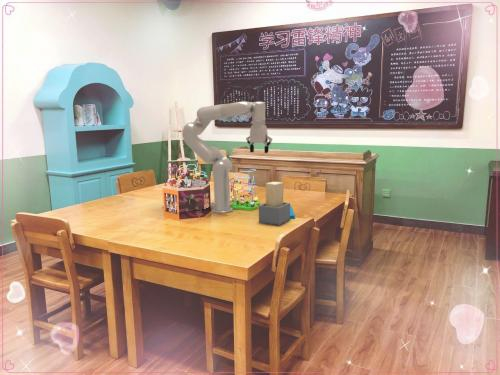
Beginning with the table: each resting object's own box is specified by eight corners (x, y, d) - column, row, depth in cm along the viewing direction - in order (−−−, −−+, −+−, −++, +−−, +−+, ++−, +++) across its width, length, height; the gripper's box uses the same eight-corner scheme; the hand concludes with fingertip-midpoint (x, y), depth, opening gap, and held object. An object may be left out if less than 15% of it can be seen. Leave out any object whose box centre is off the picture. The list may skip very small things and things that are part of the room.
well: (258, 223, 228) (258, 205, 226) (270, 217, 239) (270, 200, 237) (279, 226, 222) (279, 208, 220) (289, 220, 233) (289, 203, 231)
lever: (294, 226, 239) (288, 210, 254) (294, 215, 235) (288, 200, 251) (282, 226, 238) (277, 210, 254) (283, 216, 235) (277, 200, 251)
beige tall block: (272, 217, 236) (272, 181, 232) (283, 219, 231) (283, 182, 227) (264, 220, 229) (264, 183, 225) (275, 222, 225) (275, 184, 221)
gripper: (242, 123, 243) (243, 152, 246) (268, 123, 234) (269, 153, 238) (249, 122, 249) (249, 151, 253) (275, 123, 241) (275, 152, 244)
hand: (259, 152), depth 245 cm, fingers open, 9 cm apart
